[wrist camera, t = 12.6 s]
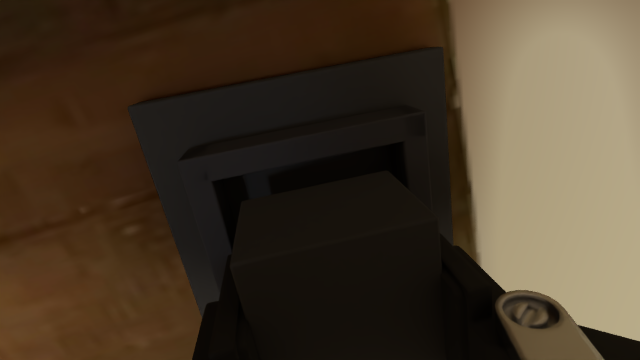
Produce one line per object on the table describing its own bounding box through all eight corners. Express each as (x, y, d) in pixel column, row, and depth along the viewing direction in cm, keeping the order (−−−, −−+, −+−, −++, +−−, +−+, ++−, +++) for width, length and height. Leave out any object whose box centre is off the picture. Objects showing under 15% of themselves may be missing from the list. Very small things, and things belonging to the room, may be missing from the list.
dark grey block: (240, 200, 11) (227, 264, 7) (388, 168, 11) (440, 216, 8) (282, 355, 13) (287, 460, 9) (406, 325, 13) (453, 416, 10)
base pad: (137, 102, 12) (104, 113, 9) (430, 47, 12) (468, 44, 10) (262, 465, 18) (261, 527, 15) (453, 413, 18) (480, 465, 16)
